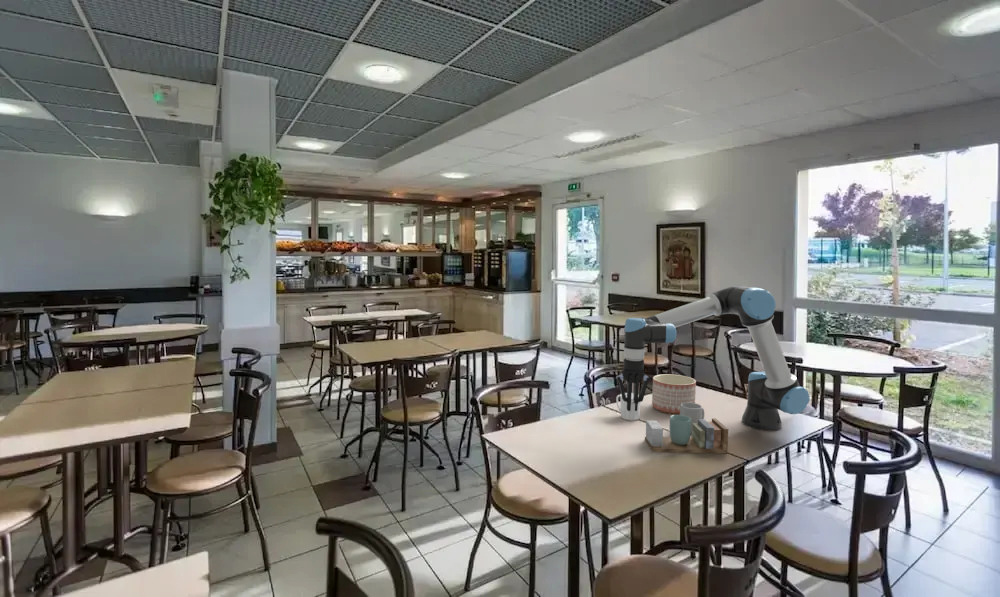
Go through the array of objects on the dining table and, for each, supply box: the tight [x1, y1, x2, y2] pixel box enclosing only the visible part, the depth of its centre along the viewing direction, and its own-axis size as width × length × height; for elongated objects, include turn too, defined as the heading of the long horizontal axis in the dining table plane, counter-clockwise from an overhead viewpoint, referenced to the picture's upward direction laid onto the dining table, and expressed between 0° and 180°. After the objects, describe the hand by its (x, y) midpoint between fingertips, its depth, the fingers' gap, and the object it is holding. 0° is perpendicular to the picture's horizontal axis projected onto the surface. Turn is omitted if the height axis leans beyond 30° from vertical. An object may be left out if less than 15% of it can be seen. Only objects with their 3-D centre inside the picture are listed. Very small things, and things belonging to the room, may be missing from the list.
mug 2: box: [680, 402, 705, 435], centre depth 206 cm, size 12×8×11 cm
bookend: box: [645, 419, 664, 447], centre depth 189 cm, size 4×9×7 cm, turn 178°
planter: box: [651, 373, 697, 416], centre depth 232 cm, size 19×19×15 cm
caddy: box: [644, 417, 729, 454], centre depth 189 cm, size 28×12×9 cm, turn 88°
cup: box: [668, 414, 692, 445], centre depth 188 cm, size 8×8×10 cm
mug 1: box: [615, 392, 641, 422], centre depth 221 cm, size 11×9×10 cm
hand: (631, 418), depth 189 cm, fingers closed
